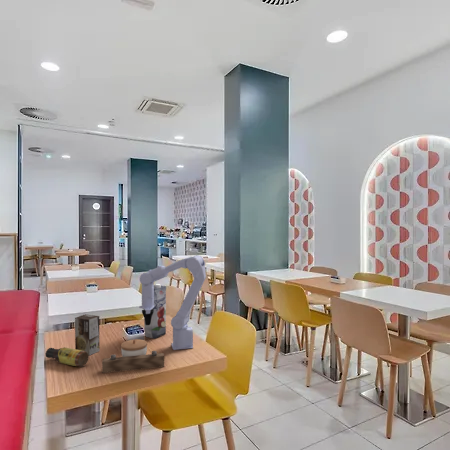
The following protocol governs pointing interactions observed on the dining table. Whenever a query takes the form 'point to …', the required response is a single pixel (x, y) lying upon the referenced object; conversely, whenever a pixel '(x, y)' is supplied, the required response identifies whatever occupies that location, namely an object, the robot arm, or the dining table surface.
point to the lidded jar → (134, 348)
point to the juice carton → (157, 314)
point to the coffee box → (87, 333)
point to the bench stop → (132, 362)
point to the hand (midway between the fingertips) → (147, 324)
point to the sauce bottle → (68, 356)
